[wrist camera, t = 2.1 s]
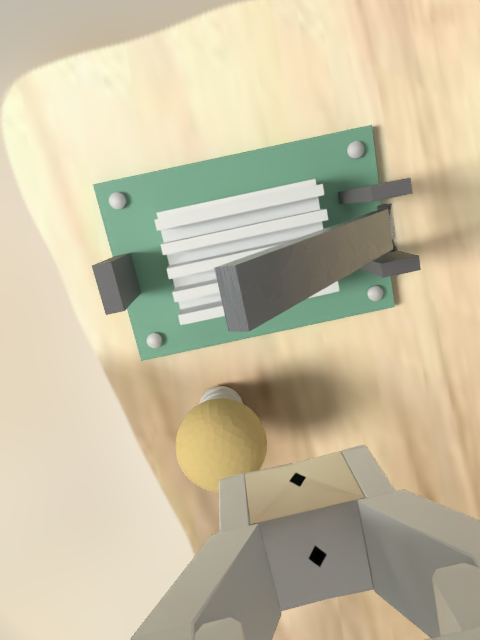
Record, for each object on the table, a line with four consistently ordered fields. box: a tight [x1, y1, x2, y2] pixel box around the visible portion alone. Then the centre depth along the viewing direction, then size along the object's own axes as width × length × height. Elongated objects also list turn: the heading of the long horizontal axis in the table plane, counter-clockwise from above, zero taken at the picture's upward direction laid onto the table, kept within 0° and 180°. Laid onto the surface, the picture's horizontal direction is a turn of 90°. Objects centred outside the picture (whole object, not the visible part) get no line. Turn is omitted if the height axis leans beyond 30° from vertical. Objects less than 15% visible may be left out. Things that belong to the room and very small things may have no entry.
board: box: [92, 125, 420, 361], centre depth 31 cm, size 21×14×8 cm, turn 102°
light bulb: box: [176, 386, 267, 493], centre depth 34 cm, size 6×6×10 cm
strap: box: [214, 203, 397, 332], centre depth 23 cm, size 17×3×1 cm
